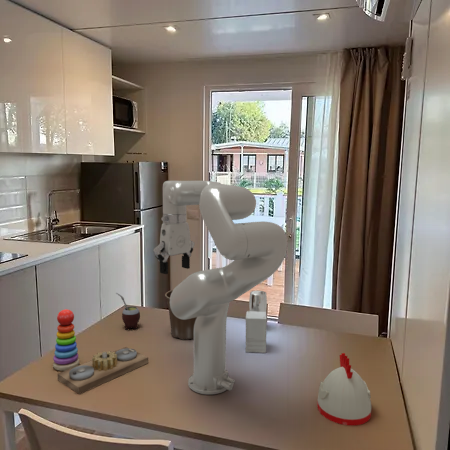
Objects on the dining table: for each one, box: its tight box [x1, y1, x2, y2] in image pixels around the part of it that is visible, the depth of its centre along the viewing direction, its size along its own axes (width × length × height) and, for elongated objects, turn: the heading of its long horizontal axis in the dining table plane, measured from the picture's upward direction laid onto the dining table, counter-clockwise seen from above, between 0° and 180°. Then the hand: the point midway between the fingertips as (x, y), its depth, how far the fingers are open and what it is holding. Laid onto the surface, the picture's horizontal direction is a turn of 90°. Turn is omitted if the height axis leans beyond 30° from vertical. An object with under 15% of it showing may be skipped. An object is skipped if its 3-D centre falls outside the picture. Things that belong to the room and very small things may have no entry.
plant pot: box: [164, 289, 197, 340], centre depth 159 cm, size 16×16×16 cm
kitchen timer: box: [316, 352, 372, 426], centre depth 110 cm, size 14×14×15 cm
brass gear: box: [91, 350, 117, 371], centre depth 129 cm, size 7×7×3 cm
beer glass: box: [248, 289, 268, 313], centre depth 164 cm, size 7×7×15 cm
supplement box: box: [245, 310, 268, 354], centre depth 147 cm, size 7×7×13 cm
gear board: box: [57, 346, 149, 395], centre depth 129 cm, size 12×25×6 cm, turn 140°
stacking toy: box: [52, 308, 80, 372], centre depth 132 cm, size 8×8×19 cm
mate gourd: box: [115, 292, 141, 331], centre depth 164 cm, size 8×8×15 cm
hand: (175, 270), depth 135 cm, fingers open, 9 cm apart
